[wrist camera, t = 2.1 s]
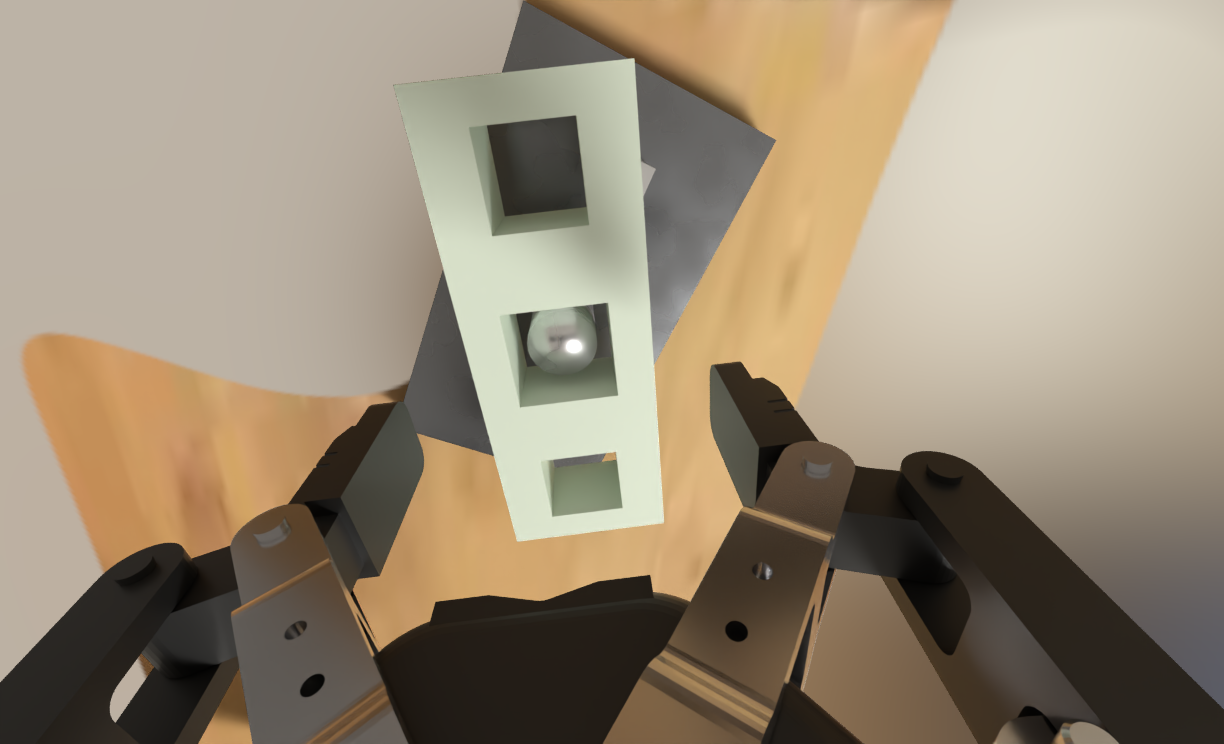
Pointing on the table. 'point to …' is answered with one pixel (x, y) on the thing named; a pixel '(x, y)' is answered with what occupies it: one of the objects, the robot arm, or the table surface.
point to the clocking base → (553, 180)
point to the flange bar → (548, 290)
